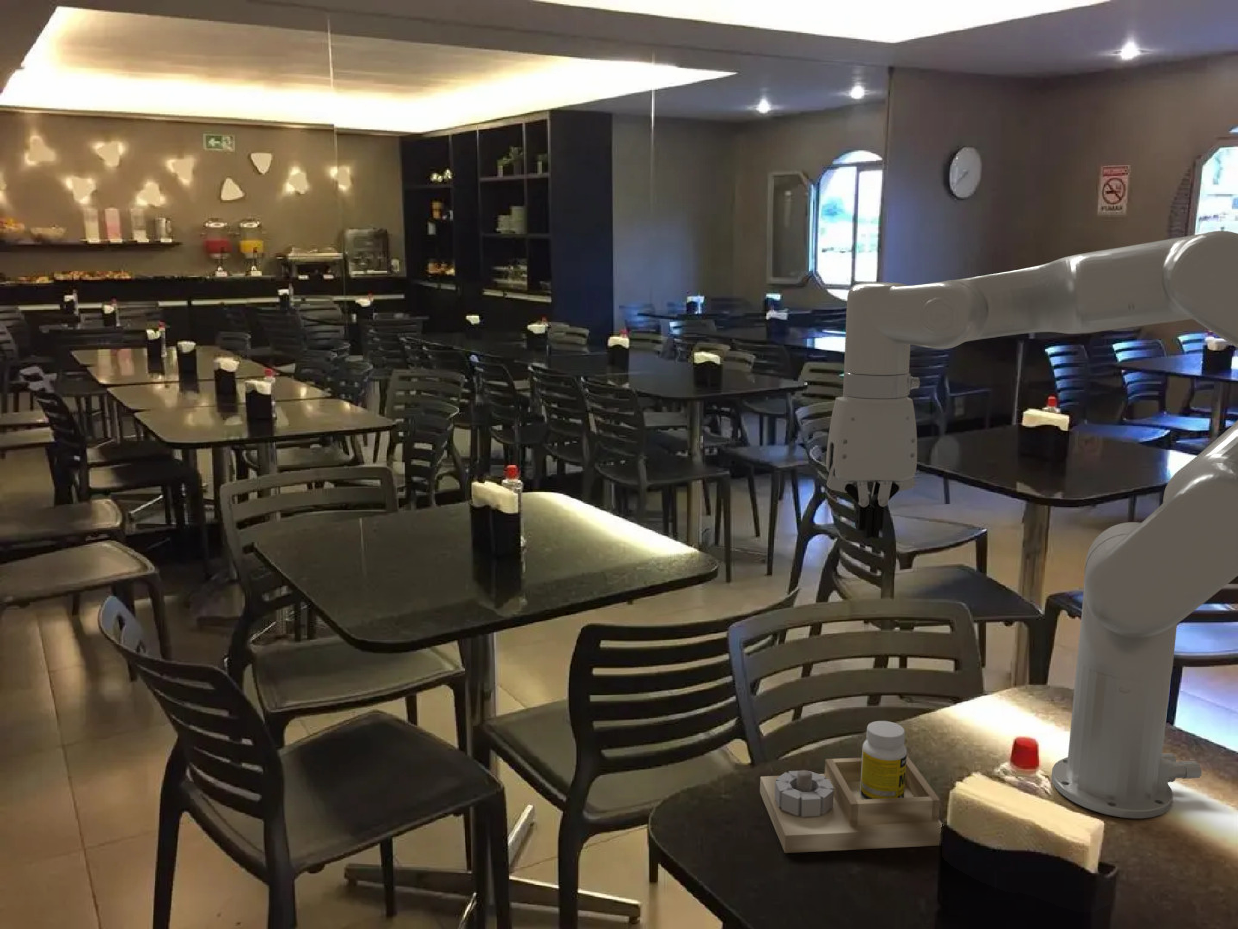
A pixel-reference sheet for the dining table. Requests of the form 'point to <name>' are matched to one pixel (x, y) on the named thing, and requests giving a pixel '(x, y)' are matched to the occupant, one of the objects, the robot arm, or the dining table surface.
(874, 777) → the supplement bottle
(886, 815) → the wooden peg tray
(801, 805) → the wheel
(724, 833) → the dining table surface
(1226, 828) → the dining table surface
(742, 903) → the dining table surface
